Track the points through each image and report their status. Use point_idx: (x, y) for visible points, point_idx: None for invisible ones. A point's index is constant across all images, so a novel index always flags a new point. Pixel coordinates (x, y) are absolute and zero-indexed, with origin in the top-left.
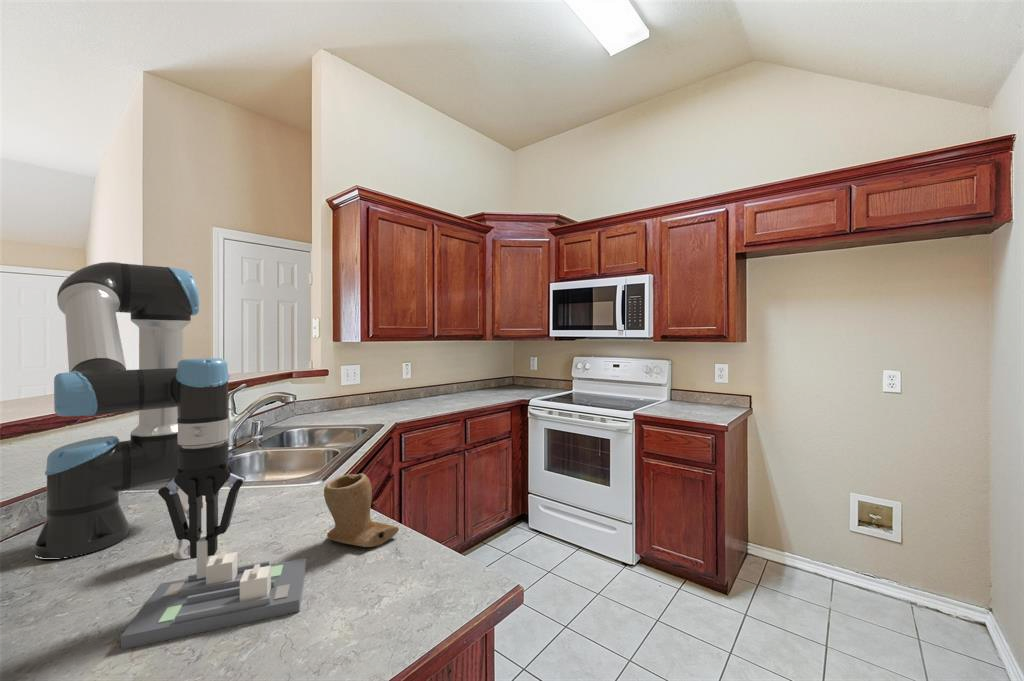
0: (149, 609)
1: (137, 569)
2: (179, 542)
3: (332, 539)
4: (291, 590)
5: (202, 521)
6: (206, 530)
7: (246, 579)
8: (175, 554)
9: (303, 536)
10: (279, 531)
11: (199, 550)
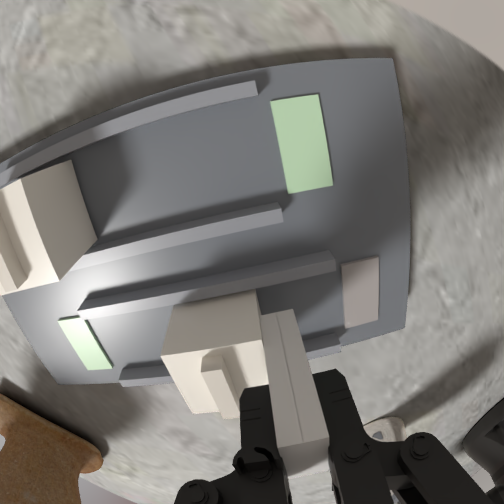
0: (387, 192)
1: (448, 385)
2: None
3: (75, 437)
4: None
5: None
6: (286, 501)
7: (7, 197)
8: (400, 424)
9: (164, 463)
10: None
11: (305, 399)
